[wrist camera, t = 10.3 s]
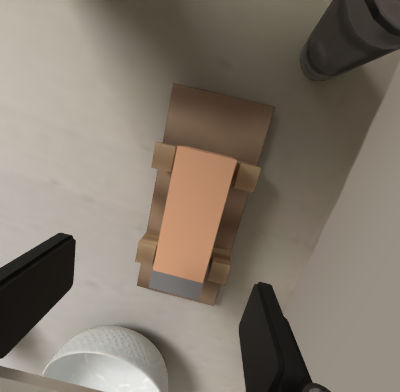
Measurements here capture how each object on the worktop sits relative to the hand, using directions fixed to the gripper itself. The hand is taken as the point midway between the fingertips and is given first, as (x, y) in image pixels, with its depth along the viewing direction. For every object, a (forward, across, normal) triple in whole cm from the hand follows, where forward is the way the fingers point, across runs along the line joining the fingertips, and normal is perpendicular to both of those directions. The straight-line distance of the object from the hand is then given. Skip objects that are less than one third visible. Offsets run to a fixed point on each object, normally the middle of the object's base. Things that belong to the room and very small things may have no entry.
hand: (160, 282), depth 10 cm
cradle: (+16, -1, +1) cm, 16 cm away
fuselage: (+13, -1, +1) cm, 13 cm away
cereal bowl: (+16, +5, +28) cm, 33 cm away
